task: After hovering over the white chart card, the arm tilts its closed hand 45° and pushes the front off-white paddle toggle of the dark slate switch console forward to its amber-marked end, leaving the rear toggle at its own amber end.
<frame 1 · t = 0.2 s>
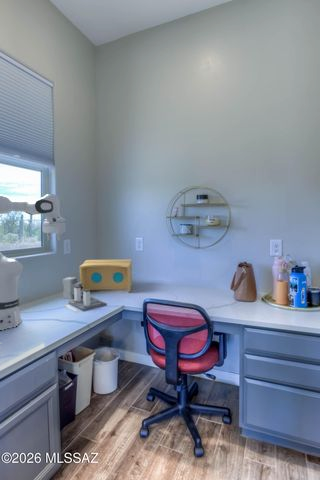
hand: (54, 240, 181), 47 cm above the table, tool pointing down, fingers open, 8 cm apart
switch console: (87, 304, 194), on the table
circuit breaker: (73, 297, 212), on the table
toggle front: (86, 297, 186), point 7 cm above the table, slide at 0.0 cm
cardboard box: (107, 289, 234), on the table
toggle rear: (77, 293, 196), point 7 cm above the table, slide at 0.0 cm
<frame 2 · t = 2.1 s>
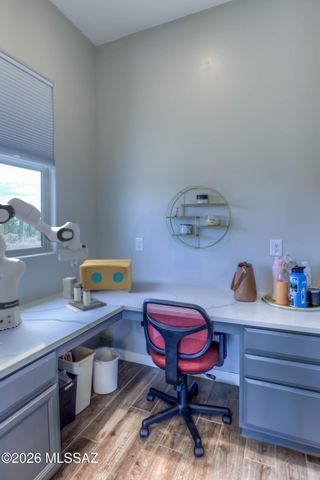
hand: (74, 266, 184), 29 cm above the table, tool pointing down, fingers closed
nothing on the table moved.
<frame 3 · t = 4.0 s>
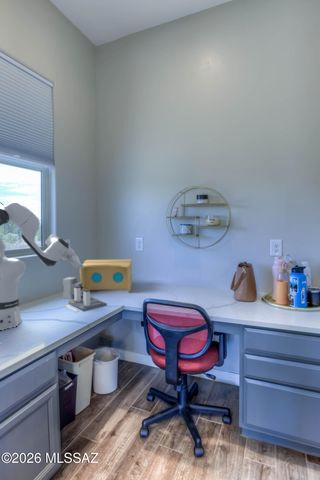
hand: (83, 267, 183), 28 cm above the table, tool tilted 45°, fingers closed
nothing on the table moved.
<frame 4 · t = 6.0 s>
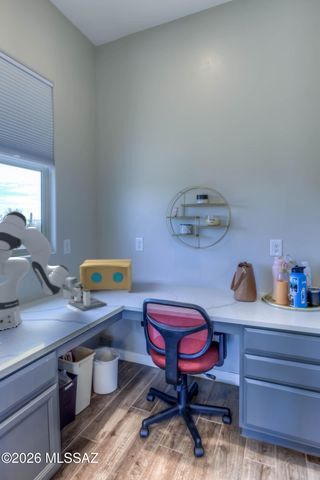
hand: (76, 296, 179), 10 cm above the table, tool tilted 45°, fingers closed
nothing on the table moved.
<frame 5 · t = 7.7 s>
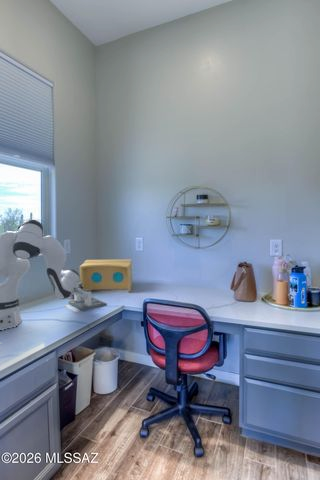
hand: (85, 298, 185), 7 cm above the table, tool tilted 45°, fingers closed, pressing on toggle front
toggle front: (87, 297, 186), point 7 cm above the table, slide at 0.9 cm, touching gripper
everything else where it was.
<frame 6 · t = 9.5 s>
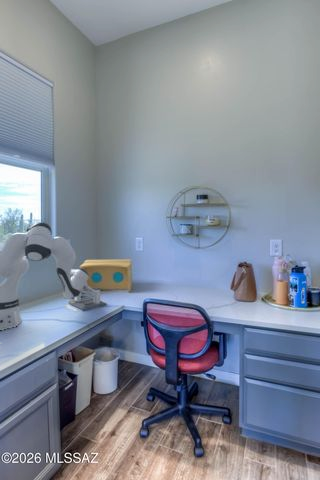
hand: (93, 296, 189), 7 cm above the table, tool tilted 45°, fingers closed, pressing on toggle front
toggle front: (96, 295, 191), point 7 cm above the table, slide at 7.6 cm, touching gripper
everything else where it was.
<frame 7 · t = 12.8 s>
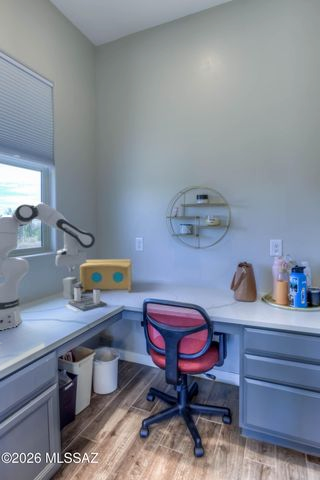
hand: (71, 271, 183), 26 cm above the table, tool pointing down, fingers closed
toggle front: (96, 295, 191), point 7 cm above the table, slide at 7.6 cm
everything else where it was.
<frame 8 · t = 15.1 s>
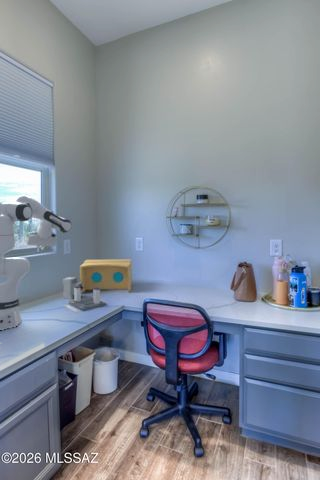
hand: (39, 251, 193), 38 cm above the table, tool tilted 15°, fingers closed
nothing on the table moved.
at the end: toggle front slide at 7.6 cm; toggle rear slide at 0.0 cm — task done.
